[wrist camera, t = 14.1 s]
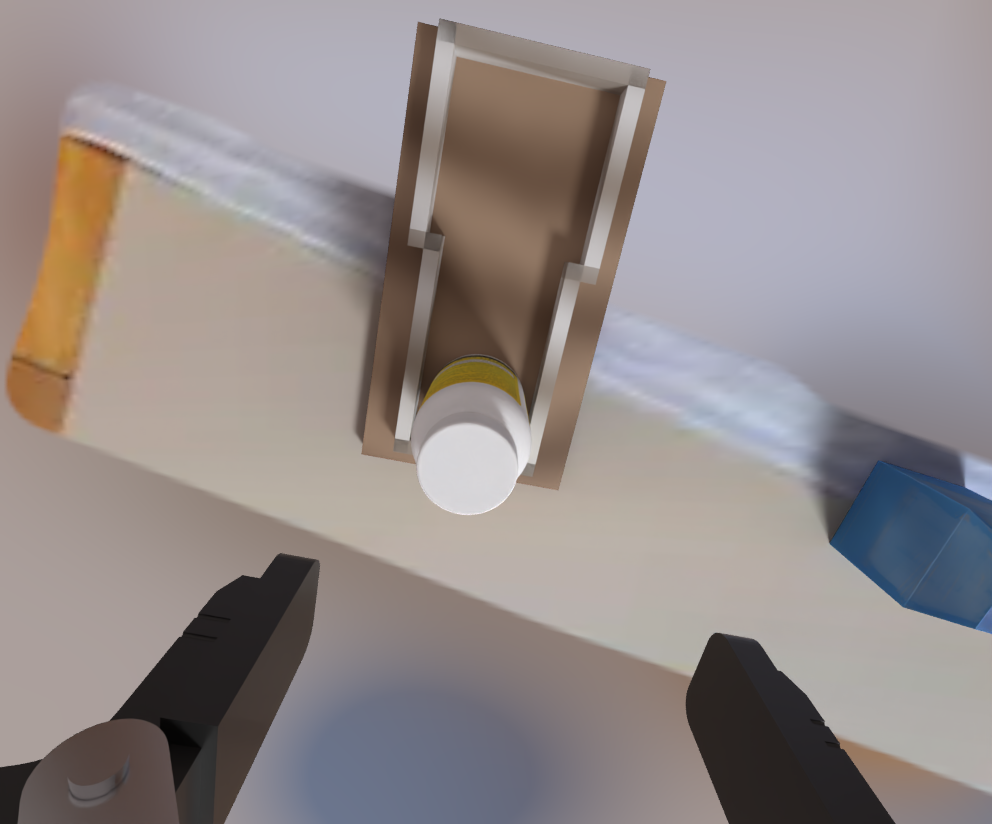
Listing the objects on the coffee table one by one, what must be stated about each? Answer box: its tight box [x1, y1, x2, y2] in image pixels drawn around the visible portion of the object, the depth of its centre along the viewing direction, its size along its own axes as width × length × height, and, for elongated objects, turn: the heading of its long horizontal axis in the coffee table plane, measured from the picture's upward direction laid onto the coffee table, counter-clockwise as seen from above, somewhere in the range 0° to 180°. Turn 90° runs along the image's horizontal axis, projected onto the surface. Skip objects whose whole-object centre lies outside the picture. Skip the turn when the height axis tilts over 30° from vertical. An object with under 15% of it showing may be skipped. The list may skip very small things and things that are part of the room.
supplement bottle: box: [411, 354, 532, 515], centre depth 24 cm, size 5×5×10 cm
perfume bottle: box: [830, 461, 992, 634], centre depth 26 cm, size 6×6×12 cm
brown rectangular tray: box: [362, 19, 666, 490], centre depth 26 cm, size 22×12×2 cm, turn 169°
